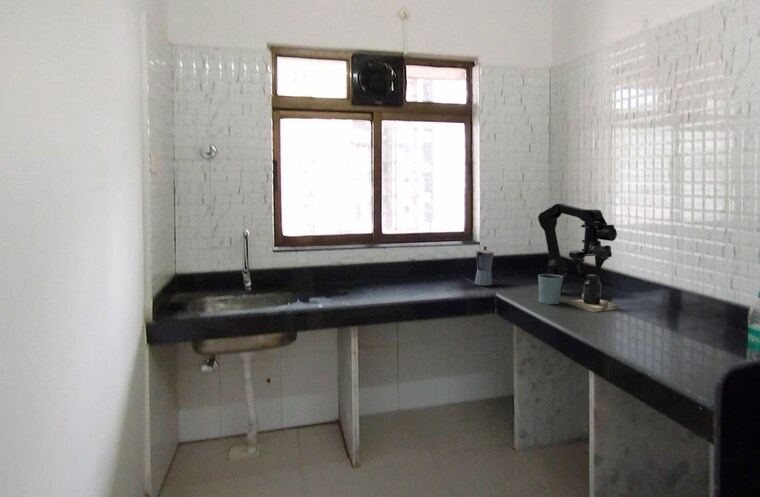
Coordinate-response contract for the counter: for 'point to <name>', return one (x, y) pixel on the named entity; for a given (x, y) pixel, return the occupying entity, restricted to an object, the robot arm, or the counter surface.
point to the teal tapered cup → (549, 288)
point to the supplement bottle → (592, 290)
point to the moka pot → (484, 267)
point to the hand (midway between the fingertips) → (589, 273)
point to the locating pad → (598, 307)
